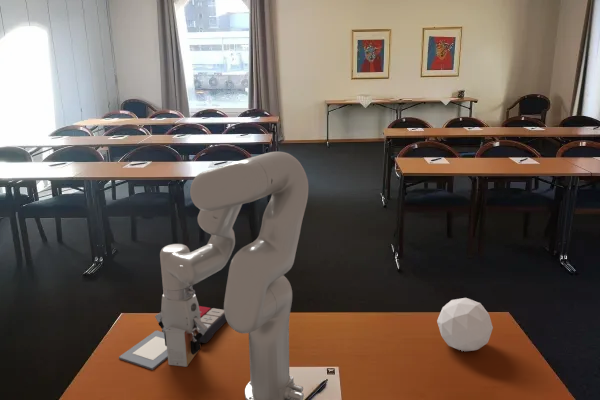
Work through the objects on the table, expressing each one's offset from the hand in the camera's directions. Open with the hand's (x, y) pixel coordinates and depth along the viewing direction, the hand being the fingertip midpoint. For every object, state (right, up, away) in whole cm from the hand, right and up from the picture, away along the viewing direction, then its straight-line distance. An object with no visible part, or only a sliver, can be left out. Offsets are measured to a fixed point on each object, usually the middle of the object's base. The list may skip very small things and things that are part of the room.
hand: (182, 347), depth 131 cm
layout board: (-9, -2, +5) cm, 10 cm away
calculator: (+2, +1, +15) cm, 15 cm away
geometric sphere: (+79, -1, +5) cm, 79 cm away
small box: (0, -3, +1) cm, 3 cm away
